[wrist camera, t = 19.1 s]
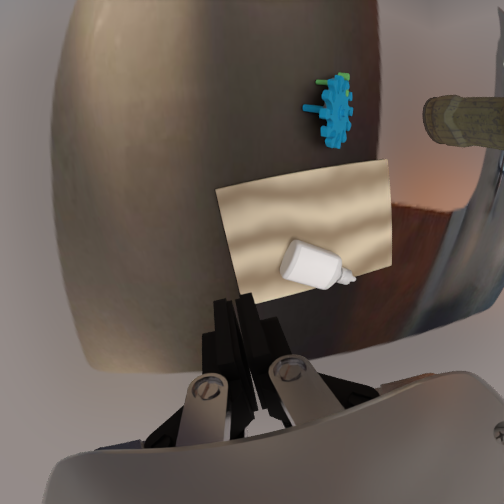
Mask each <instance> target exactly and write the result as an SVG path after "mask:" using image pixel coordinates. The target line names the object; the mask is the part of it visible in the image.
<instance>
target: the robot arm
mask: <svg viewBox="0 0 504 504" xmlns="http://www.w3.org/2000/svg"><path fill="white" fill-rule="evenodd" d="M239 296H240V298H239V299H235V301H236V306H237V311H238V317H239V322H240V327H241V332H242V336H241V332H240V329H239V325H238V322H237V318H236V315H235V311H234V307H233V304H232V301H227V300H226V298H225V299H221V300H216V301H214V302H213V303H214V321H215V331H213V332H208V333H204V334H202V375H201V376H198V377H197V378H195V379H194V380H193V381H192V382H191V383H190V385H189V387H188V389H187V394H186V398H185V403H184V405H183V406H182V407H181V408H180V409H179V410H178V411H177V412H176V413H175V414H173V415H172V416H171V417H170V418H169V419H168V420H167V421H165V422H164V423H163V424H162V425H161V426H160V427H159V428H157V429H156V430H155V431H154V432H153V433H152V434H151V435H150V436H149V437H148V438H147V439H146V441H141V440H140V439H139V440H135V441H130V442H126V443H121V444H116V445H111V446H106V447H100V448H98V449H95V450H94V451H88V452H82V453H78V454H75V455H71V456H68V457H66V458H64V459H62V460H60V461H59V462H58V463H57V464H56V465H55V466H54V468H53V469H52V471H51V473H50V475H49V478H48V481H47V484H46V488H45V491H44V495H43V500H42V504H504V399H503V398H502V396H501V395H500V394H499V393H498V392H497V391H496V390H495V389H494V388H493V387H492V386H491V385H489V384H488V383H487V382H486V381H485V380H484V379H482V378H481V377H479V376H478V375H476V374H474V373H471V372H467V371H452V372H447V373H440V374H434V373H425V374H422V375H418V376H414V377H411V378H406V379H402V380H399V381H394V382H390V383H386V384H382V385H380V388H375V389H374V388H372V387H370V386H367V385H363V384H359V383H355V382H351V381H347V380H343V379H339V378H336V377H332V376H328V375H325V374H321V373H318V372H317V371H316V370H315V369H314V367H313V366H312V365H311V363H310V362H309V361H308V360H307V359H306V358H305V357H303V356H300V355H292V353H291V351H290V348H289V346H288V343H287V341H286V338H285V336H284V333H283V331H282V328H281V326H280V323H279V321H278V318H277V317H272V318H268V319H264V320H260V318H259V315H258V312H257V308H256V305H255V302H254V298H253V295H252V292H250V293H246V294H242V295H239ZM242 337H243V339H242ZM243 342H244V343H243ZM249 368H250V369H249ZM250 371H251V373H250ZM251 374H252V378H253V381H254V384H255V387H256V391H257V394H258V397H259V400H260V403H261V406H262V409H268V412H269V415H270V416H271V417H274V418H276V419H278V420H280V421H281V424H282V426H283V428H284V429H281V430H277V431H273V432H269V433H265V434H260V435H255V436H251V437H248V430H247V426H248V425H249V423H250V422H251V421H252V420H253V419H255V417H254V411H258V406H257V402H256V397H255V392H254V388H253V383H252V378H251Z"/></svg>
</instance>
